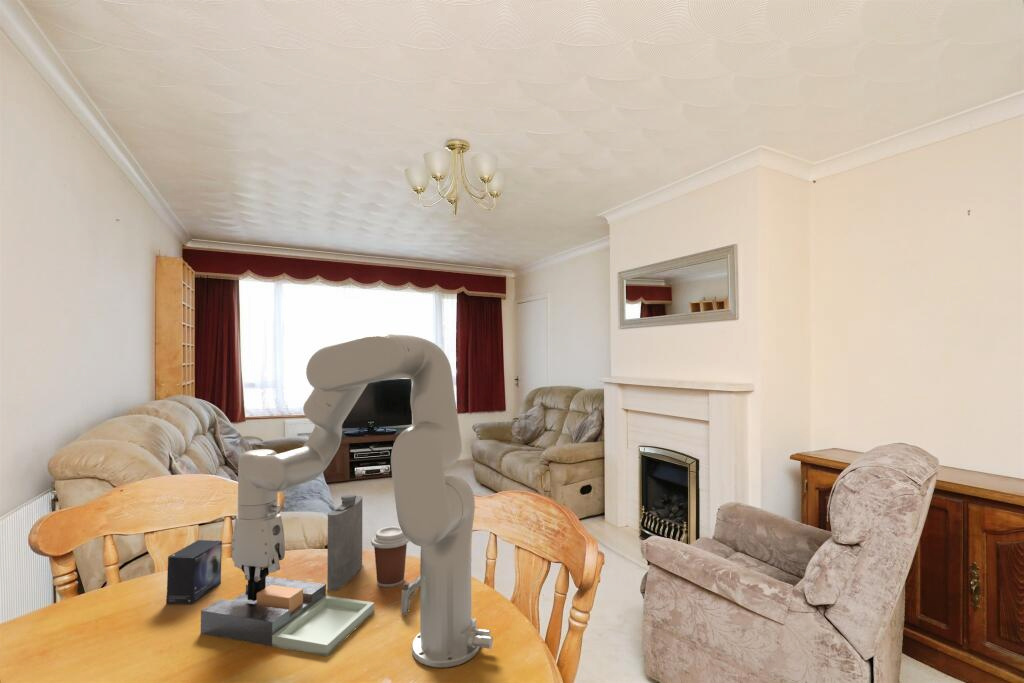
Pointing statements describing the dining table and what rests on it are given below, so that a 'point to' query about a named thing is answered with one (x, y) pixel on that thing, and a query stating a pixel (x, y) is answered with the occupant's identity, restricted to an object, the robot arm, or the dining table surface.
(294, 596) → the chip
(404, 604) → the caliper
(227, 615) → the slot block
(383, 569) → the coffee cup
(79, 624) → the dining table surface
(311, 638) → the tray
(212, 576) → the small box
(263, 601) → the chip
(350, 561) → the hip flask
